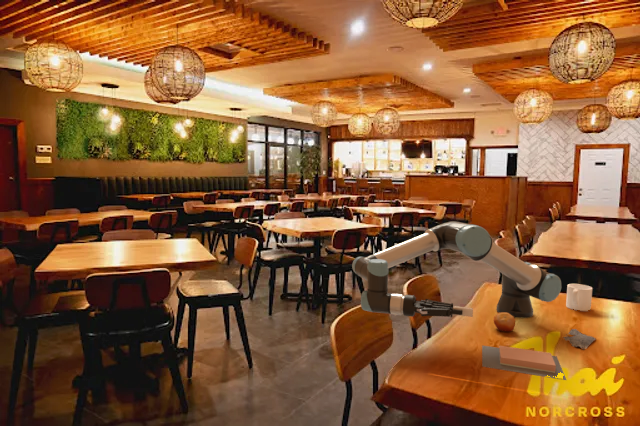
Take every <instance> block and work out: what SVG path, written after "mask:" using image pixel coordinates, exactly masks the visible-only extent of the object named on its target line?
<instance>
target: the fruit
mask: <svg viewBox="0 0 640 426" xmlns="http://www.w3.org/2000/svg"><path fill="white" fill-rule="evenodd" d="M515 318H516V317H513V316H512V315H510V314H509V313H507V312H501V313H499V312H497V314H495V315H494V317H493V323H494V325H495V327H496V329H497V330H498V331H500V332H505V333H506V332H509V333H511V332H513V331H514V330H515V327H516V319H515Z"/></svg>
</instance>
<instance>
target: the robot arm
mask: <svg viewBox="0 0 640 426" xmlns="http://www.w3.org/2000/svg"><path fill="white" fill-rule="evenodd" d="M440 250H451V251H455V252H458V253H460V254H462V255H463V256H466V257H467V258H469V259H471V260H472V261H475V262H479V261H481V262H483V263H485V264H486V265H488V266H490V267H491V268H493V269H494V270H496V271H497V272H499V273H501V274H502V277H501V280H502V281H501V294H500V297H499V299H498V302H497V304H496V312H497V313H501V312H507V313H509V314H510V315H512V316H513V317H514V318H519V319H520V318H521V319H526V318H527V319H528V318H532V317H533V316H534V308H533V305H532V301H531V297H532V298H534V299H537V300H539V301H542V302H546V303H550V302H553V301H555V300H556V299H557V298H558V296H559V295H560V294H561V290H562V280H561V278H560V277H559V276H558V275H557V274H555V273H550V272H547V271H546V270H544V269H543V268H541V267H539V266H537V265H536V264H532V263H531V262H527V261H523V260H522V259H520V258H518V257H516V256H515V255H513V254H512V253H510V252H509V251H508V250H505V249H504V248H503V247H501V246H500V245H498V244H497V243H495V242H494V239H493V237H492V236H491V235H490V233H489V231H488V230H486V229H485V228H484V227H482V226H481V225H480V226H479V225H477V224H469V223H466V222H460V221H456V220H455V221H453V220H452V221H448V222H444V223H441V224H438V225H436V226H433V227H430V228H429V229H426V230H425V231H424V233H423V234H420V235H418V236H415V237H412V238H410V239H407V240H405V241H403V242H400V243H398V244H396V245H395V244H394V245H393V246H391V247H388V248H386V249H385V248H384V250H381V251H378V252H376V253H374V254H370V255H368V256H357V257H355V258H354V260H353V261H352V265H351V267H352V268H351V269H352V270H353V272H354V273H355V275H357V276H358V277H360V278H361V279H363V280H365V281H366V282H367V287H366V288H367V289H366V290H363V291H362V293H361V296H360V308H361V309H362V310H363V311H365V312H366V311H367V312H370V313H378V314H379V313H380V314H388V315H393V316H395V317H396V316H402V315H403V316H405V317H414V316H415V314H420V316H421V317H448V318H453V316H460V317H469V318H474V308H473V307H467V306H458V305H454V303H452V302H451V303H450V302H443V301H442V302H441V301H438V300H437V301H436V300H432V299H429V298H425V300H424V299H421V300H417V297H416V296H415V294H413V295H411V294H404V293H403V294H402V293H394V292H393V293H392V292H388V291H389V269H390V268H392V267H396V266H398V265H400V264H402V263H405V262H408V261H410V260H412V259H415V258H417V257H419V256H422V255H424V254H427V253H429V252H431V251H433V252H437V251H440Z"/></svg>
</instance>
